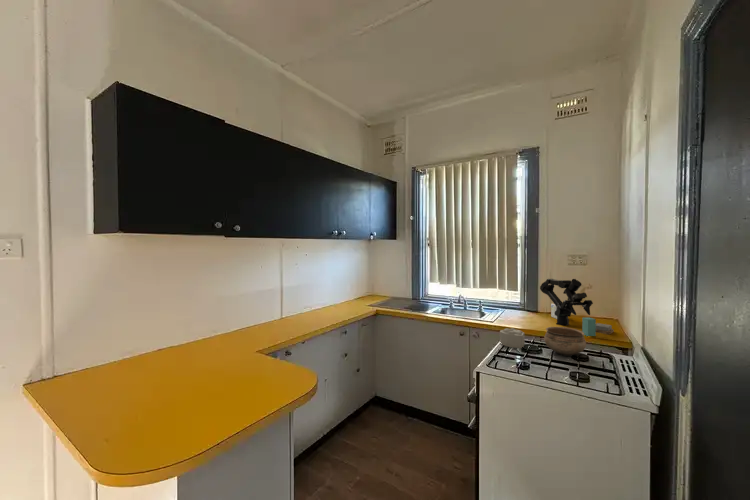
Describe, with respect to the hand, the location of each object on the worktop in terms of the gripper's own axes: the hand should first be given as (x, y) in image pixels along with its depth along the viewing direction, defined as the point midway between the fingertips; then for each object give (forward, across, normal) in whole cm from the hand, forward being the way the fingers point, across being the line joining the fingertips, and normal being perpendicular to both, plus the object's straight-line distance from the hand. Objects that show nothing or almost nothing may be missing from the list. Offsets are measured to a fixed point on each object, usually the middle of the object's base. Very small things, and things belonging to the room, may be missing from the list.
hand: (582, 314), depth 203 cm
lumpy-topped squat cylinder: (+24, -57, -7) cm, 62 cm away
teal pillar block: (+13, 0, +4) cm, 13 cm away
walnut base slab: (+7, +15, +11) cm, 20 cm away
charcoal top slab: (+6, +15, +9) cm, 18 cm away
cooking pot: (+36, -36, -18) cm, 54 cm away
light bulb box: (-20, +9, +37) cm, 43 cm away
